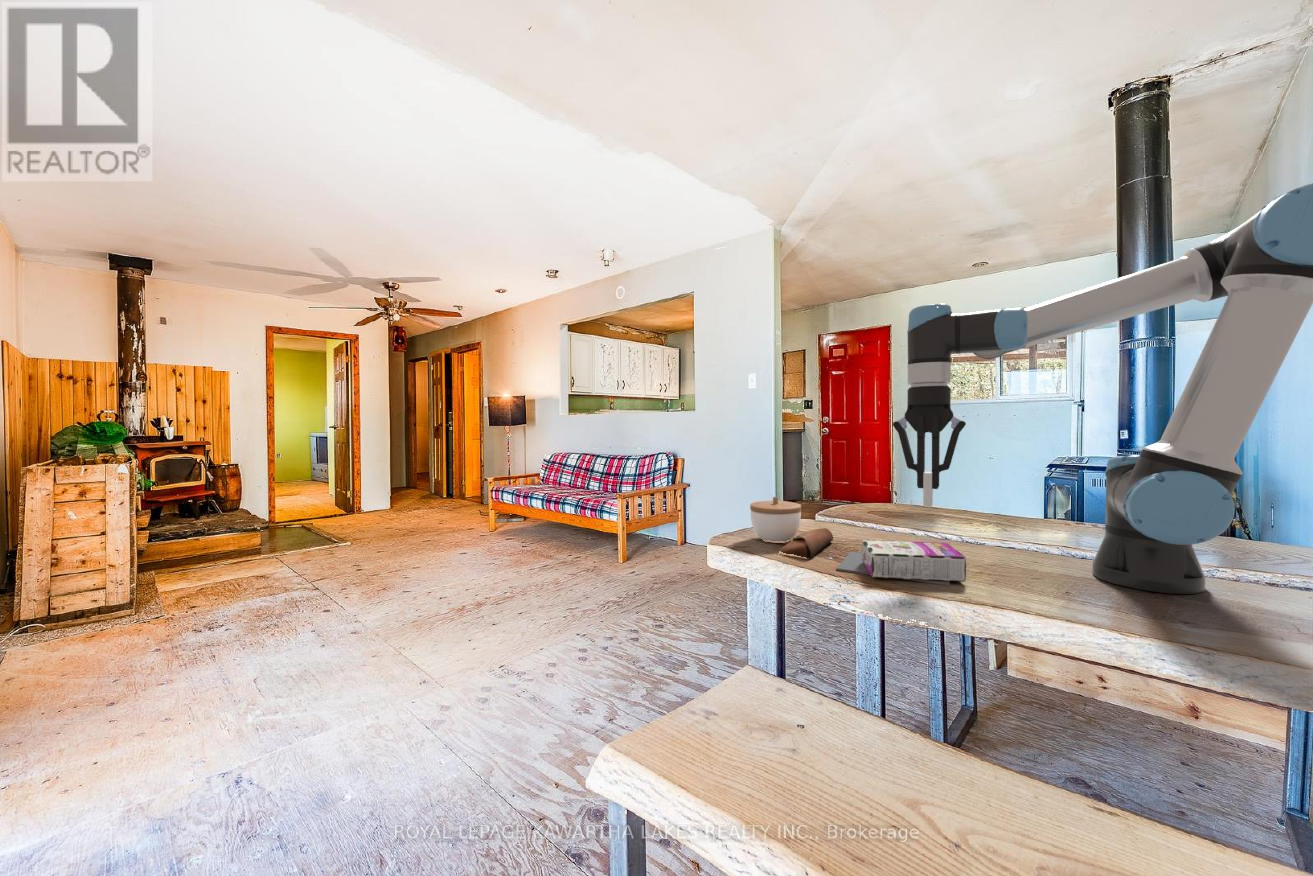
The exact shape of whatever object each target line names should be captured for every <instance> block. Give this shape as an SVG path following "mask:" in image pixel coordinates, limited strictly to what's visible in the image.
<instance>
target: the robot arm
mask: <svg viewBox="0 0 1313 876" xmlns="http://www.w3.org/2000/svg"><path fill="white" fill-rule="evenodd" d="M1225 297H1227V298H1226V299H1225V302H1224V303H1223V306H1222V309H1221V311H1220V312H1219V315H1218V316H1217V319H1216V321H1215V323H1214V324H1213V327H1212V329H1211V332H1210V334H1209V335H1208V338H1207V340H1206V342H1205V344H1204V347H1203V348H1202V351H1201V353H1200V354H1199V355H1200V356H1199V357H1198V359H1197V361H1196V363H1195V365H1194V368H1193V370H1192V372H1191V374H1190V376H1189V378H1188V381H1187V382H1186V384H1185V387H1184V389H1183V392H1182V394H1181V395H1180V397H1179V400H1178V401H1177V403H1176V405H1175V407H1174V410H1173V412H1172V414H1171V416H1170V418H1169V420H1168V422H1167V425H1166V427H1165V429H1164V431H1163V433H1162V436H1161V438H1160V440H1158V441H1157V442H1155V443H1152V444H1149V445H1145V446H1143V448H1142V450H1141V452H1140V453H1139V455H1118V456H1113V457H1110V458H1109V459H1108V460H1107V463H1106V469H1105V471H1104V475H1105V477H1106V479H1105V480H1106V481H1105V483H1106V484H1105V516H1104V517H1105V521H1104V522H1105V523H1104V524H1105V527H1104V528H1105V529H1104V530H1105V532H1104V533H1105V534H1104V536H1103V539H1102V541H1101V544H1100V545H1099V547H1098V549H1097V552H1096V554H1095V557H1094V559H1093V561H1092V571H1091V572H1092V575H1093V576H1095V577H1096V578H1098V579H1099V580H1102V581H1105V582H1108V583H1111V584H1114V585H1118V586H1122V587H1125V586H1126V588H1130V587H1131V589H1136V590H1142V591H1148V592H1154V593H1155V592H1156V593H1163V594H1175V595H1176V594H1177V595H1178V594H1179V595H1191V594H1192V595H1195V594H1200V593H1203V592H1205V591H1206V576H1205V574H1204V571H1203V569H1202V566H1201V564H1200V562H1199V559H1198V556H1197V554H1196V552H1195V550H1194V547H1193V545H1196V544H1202V543H1205V542H1209V541H1211V540H1213V539H1215V538H1217V537H1219V536H1221V534H1223V533H1224V532H1225V531H1226V530H1227V529H1228V528H1229V526H1230V525H1231V523H1232V522H1233V520H1234V516H1235V502H1234V499H1233V496H1232V495H1233V493H1234V491H1235V490H1236V487H1237V486H1238V483H1239V482H1240V480H1241V477H1242V475H1243V474H1244V473H1243V470H1241V468H1240V467H1239V465H1238V464H1237V462H1236V456H1237V454H1238V452H1239V450H1240V448H1241V445H1243V442H1244V440H1245V438H1246V436H1247V434H1248V433H1249V430H1250V428H1251V427H1252V424H1253V423H1254V420H1255V418H1256V416H1257V414H1258V412H1259V411H1260V409H1261V406H1262V405H1263V403H1264V400H1265V398H1266V396H1267V395H1268V392H1269V390H1271V387H1272V385H1273V382H1274V381H1275V379H1276V376H1277V375H1278V373H1279V371H1280V368H1281V367H1282V365H1283V363H1284V360H1285V359H1286V357H1287V354H1288V353H1289V351H1290V349H1291V347H1292V345H1293V343H1294V341H1295V340H1296V337H1297V335H1298V333H1299V332H1300V329H1301V327H1302V325H1303V324H1304V321H1305V319H1306V317H1307V315H1308V314H1309V311H1310V310H1311V307H1312V306H1313V183H1308V184H1305V185H1302V186H1299V187H1296V188H1294V189H1292V190H1289V191H1288V192H1285V193H1283V194H1281V195H1279V196H1277V197H1275V198H1274V199H1272V200H1271V201H1269V202H1267V204H1265V205H1264V206H1262V208H1261V209H1260V210H1259V211H1258V212H1257V213H1256V214H1254V215H1253V216H1251V217H1250V218H1249V219H1248V220H1246V221H1245V222H1244V223H1242V224H1241V225H1239V226H1237V227H1236V228H1234V229H1233V230H1231V231H1229V232H1227V233H1226V234H1224V235H1221V236H1220V237H1218V238H1216V239H1213V240H1211V241H1209V242H1206V243H1204V244H1201V245H1199V246H1195V247H1191V248H1189V249H1187V250H1186V251H1185V252H1184V254H1182V256H1181V257H1180V258H1177V259H1174V260H1171V261H1168V262H1164V263H1161V264H1158V265H1156V266H1152V267H1149V268H1146V269H1143V270H1140V271H1137V272H1134V273H1131V274H1128V275H1125V276H1121V277H1119V278H1115V279H1112V280H1109V281H1106V282H1103V283H1101V284H1097V285H1094V286H1090V287H1087V288H1085V289H1084V288H1083V289H1082V290H1081V289H1080V290H1079V291H1075V292H1072V293H1069V294H1065V295H1062V296H1060V297H1056V298H1053V299H1051V300H1047V301H1043V302H1042V303H1039V304H1035V305H1032V306H1029V307H1026V308H1023V307H1013V308H1011V307H1010V308H1006V307H1002V308H1000V309H992V310H983V311H982V310H981V311H974V312H967V313H953V311H952V307H951V306H950V305H949V304H946V303H937V304H935V303H931V304H924V305H920V306H919V305H918V306H916V307H914V308H912V309H911V310H910V311H909V313H908V324H907V331H906V332H907V334H906V335H907V385H909V386H910V387H908V389H907V402H906V403H907V407H906V408H907V409H906V411H905V412H904V416H903V417H902V418H900V419H898V420H896V421H894V422H892V426H893V428H894V429H895V430H896V432H897V433H898V436H899V437H898V438H899V440H900V444H901V448H902V452H903V455H904V460H905V464H906V467H907V468H908V469H909V470H912V471H915V472H916V487H917V489H922V493H923V494H922V495H923V496H922V498H923V499H922V505H923V507H933V505H934V504H933V503H934V501H933V500H934V497H933V495H934V490H939V487H940V473H941V472H944V471H947V470H949V469H950V467H951V464H952V461H953V457H954V453H955V450H956V446H957V443H958V440H959V436H960V433H961V432H962V430H963V429H964V428H965V426H966V425H967V424H966V422H965V421H964V420H961V419H960V418H957V417H956V416H954V413H953V410H952V408H951V407H952V406H951V396H952V395H951V394H952V393H951V392H952V391H951V390H952V389H951V387H950V385H948V384H950V383H951V377H952V375H951V374H952V368H951V367H952V363H951V361H952V360H951V356H952V354H953V355H954V354H956V355H957V354H968V353H969V354H971V353H972V354H974V356H976V357H978V358H981V359H984V360H992V359H993V360H994V359H997V358H1000V357H1002V356H1003V355H1005V354H1009V353H1012V352H1016V351H1019V350H1022V349H1025V348H1028V347H1032V346H1036V345H1039V344H1043V343H1045V342H1049V341H1052V340H1056V339H1059V338H1064V337H1066V336H1071V335H1073V334H1077V333H1081V332H1085V331H1088V330H1092V329H1094V328H1099V327H1101V326H1105V325H1108V324H1111V323H1115V322H1118V321H1119V322H1120V321H1123V320H1126V319H1129V318H1132V317H1136V316H1140V315H1143V314H1146V313H1151V312H1154V311H1157V310H1161V309H1164V308H1167V307H1171V306H1174V305H1177V304H1178V305H1179V304H1182V303H1185V302H1188V301H1193V300H1196V301H1199V302H1202V303H1206V302H1209V301H1213V300H1216V299H1221V298H1225ZM907 422H908V424H909V425H910V427H911V428H912V429H913V430H914V431H915V432H916V441H917V442H916V463H915V460H914V457H913V452H912V449H911V444H910V441H909V437H908V434H907V430H906V429H907V428H908V425H907ZM950 422H951V424H950V426H951V429H952V432H951V434H950V437H949V441H948V445H947V449H946V453H945V456H944V459H943V462H942V463H941V464H940V448H941V446H940V442H941V441H940V438H941V437H940V436H941V432H942V431H943V430H944V429H945V428H946V426H947V425H948V424H949V423H950ZM926 433H931V471H926V470H925V469H926V466H925V465H926Z"/></svg>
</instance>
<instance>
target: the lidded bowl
mask: <svg viewBox="0 0 1313 876" xmlns="http://www.w3.org/2000/svg"><path fill="white" fill-rule="evenodd" d="M749 506H750V507H749V508H750V521H751V525H752V529H753V531H754V533H755V534H756V535H757V536H758V537H759V538H760V540H761V539H763V540H770V541H787V540H790V539H791V540H793V538H795V537H796V535H797V533H798V532H799V529H800V525H801V518H802V515H801V514H802V505H801V504H800V503H797V502H792V501H785V500H779V497H778V496H773V497H772V500H762V501H753V502H752V503H750V504H749ZM791 540H790V541H791Z"/></svg>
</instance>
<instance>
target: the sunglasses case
mask: <svg viewBox="0 0 1313 876" xmlns="http://www.w3.org/2000/svg"><path fill="white" fill-rule="evenodd" d="M831 541H832V542H833V541H834V535H833V533H832V531H831V530H829V529H828V528H822V527H820V528H815V529H811V530H809V531H807V532H804V533H801V534H799V535H797V536H796V535H795V536H794V537H793V538H792V540H790V542H788V543H785V545H783V546H782V547H781V548H780V549H779V550H778V551H781V552H783V553H786V554H794V555H797V556H801V557H806V558H809V560H810V559H811V558H813V557H814V556H816V554H818V552H819V551H820V550H821V549H823V548H825V547H826V546H827V545H828V544H830V542H831ZM832 542H831V543H832Z"/></svg>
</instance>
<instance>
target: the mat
mask: <svg viewBox="0 0 1313 876" xmlns="http://www.w3.org/2000/svg"><path fill="white" fill-rule="evenodd" d="M835 570H836V571H839V572H848V573H854V574H861V575H869V576H871V574H870V573H869V571H868V569H867V568H866V566H865V565H864V563H863V561H862V552H857V551H850V552H849V553H848V554H847V555H846V557H845V558H844V559H842V561H841V562H840V563H839V564H838V565H837V567H836V568H835ZM903 580H906V581H912V582H920V583H928V584H934V585H943V586H948V587H949V586H950V583H951V581H941V580H921V579H903Z"/></svg>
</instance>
